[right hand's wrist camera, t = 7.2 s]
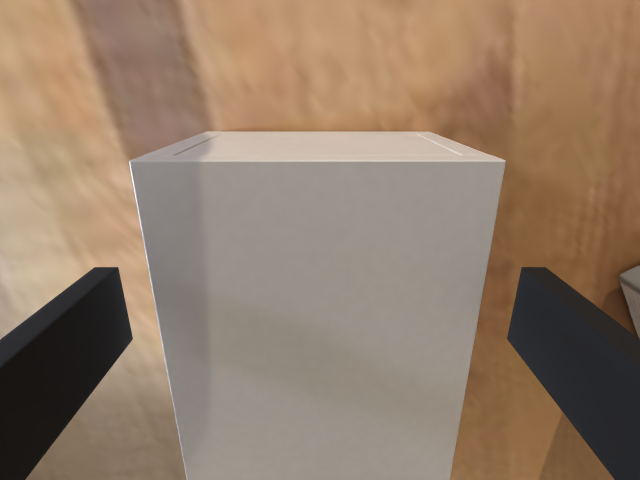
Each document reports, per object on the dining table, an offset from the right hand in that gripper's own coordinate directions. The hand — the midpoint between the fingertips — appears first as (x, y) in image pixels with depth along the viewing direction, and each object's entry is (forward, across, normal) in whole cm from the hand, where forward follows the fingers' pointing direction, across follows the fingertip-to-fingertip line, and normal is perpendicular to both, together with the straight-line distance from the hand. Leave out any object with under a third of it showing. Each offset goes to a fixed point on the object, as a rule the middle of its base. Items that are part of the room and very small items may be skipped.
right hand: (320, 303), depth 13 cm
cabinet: (+9, 0, -4) cm, 10 cm away
